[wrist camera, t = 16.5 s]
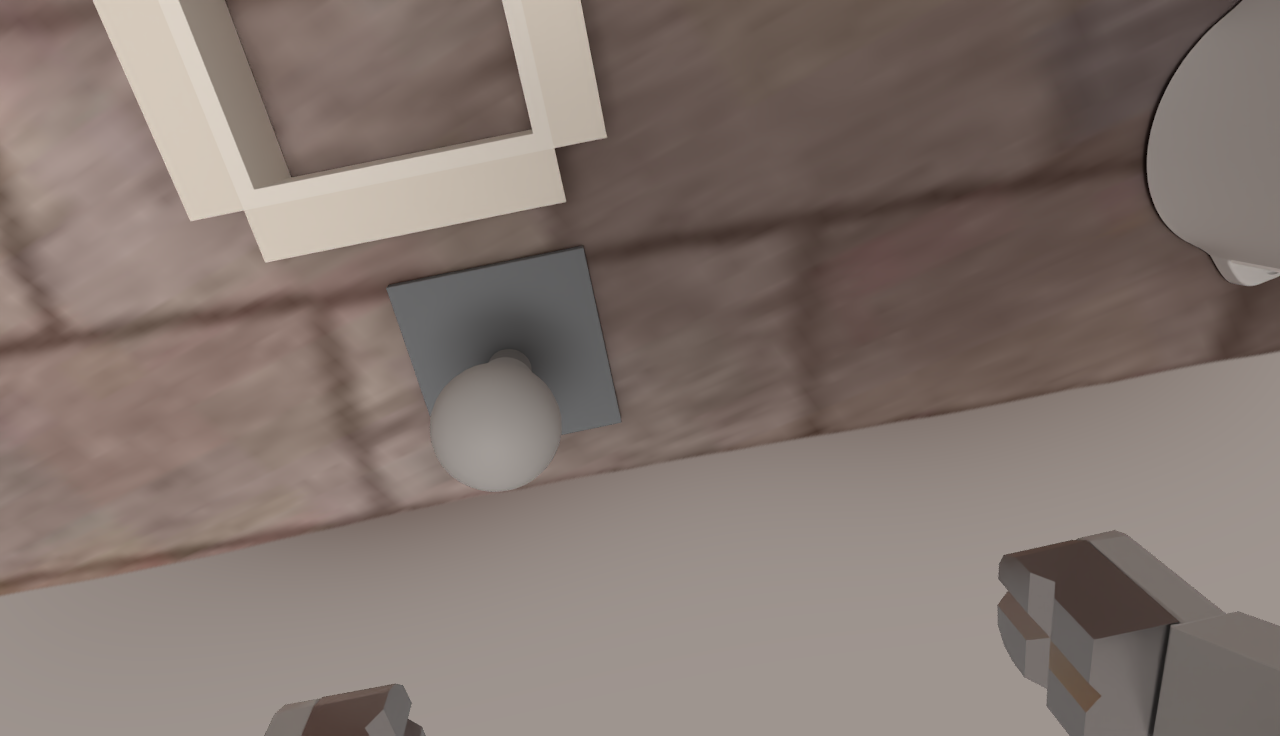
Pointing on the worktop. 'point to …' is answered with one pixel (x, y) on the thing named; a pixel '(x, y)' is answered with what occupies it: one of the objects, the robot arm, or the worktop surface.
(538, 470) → the lightbulb
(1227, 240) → the robot arm
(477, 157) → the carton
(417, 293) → the mat
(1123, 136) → the worktop surface
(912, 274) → the worktop surface
